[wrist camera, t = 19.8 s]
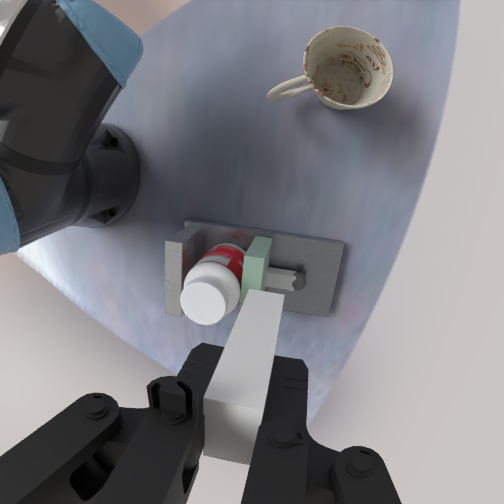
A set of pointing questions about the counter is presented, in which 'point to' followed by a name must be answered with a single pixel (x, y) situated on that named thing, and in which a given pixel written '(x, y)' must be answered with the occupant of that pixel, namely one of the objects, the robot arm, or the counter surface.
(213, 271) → the pill bottle
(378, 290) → the counter surface
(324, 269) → the vise base
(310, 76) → the mug
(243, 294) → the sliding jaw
